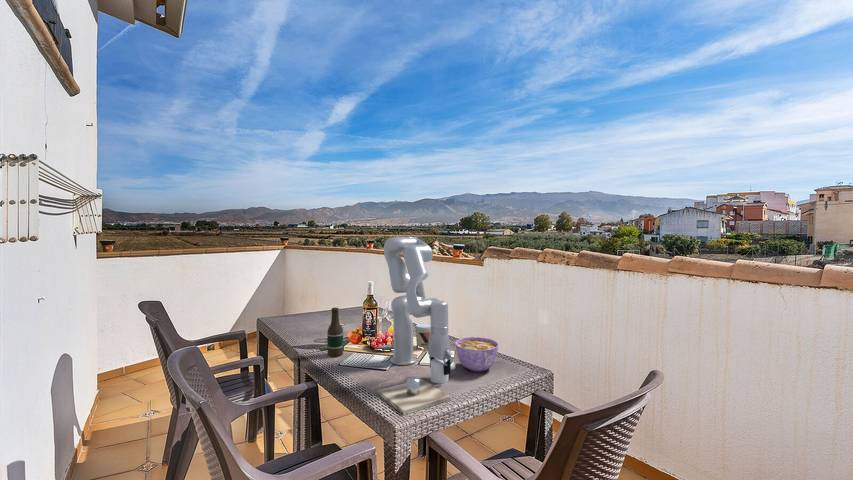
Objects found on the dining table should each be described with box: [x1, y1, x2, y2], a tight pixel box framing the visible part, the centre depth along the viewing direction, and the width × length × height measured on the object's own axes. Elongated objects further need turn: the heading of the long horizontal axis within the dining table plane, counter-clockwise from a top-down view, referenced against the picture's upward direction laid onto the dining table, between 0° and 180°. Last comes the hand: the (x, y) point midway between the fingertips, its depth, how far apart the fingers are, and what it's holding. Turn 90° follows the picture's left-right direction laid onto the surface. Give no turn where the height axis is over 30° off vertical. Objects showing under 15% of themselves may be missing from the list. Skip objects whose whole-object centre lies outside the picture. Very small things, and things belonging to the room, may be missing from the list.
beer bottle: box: [326, 307, 344, 358], centre depth 193 cm, size 8×8×24 cm
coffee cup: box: [415, 323, 431, 351], centre depth 205 cm, size 9×9×12 cm
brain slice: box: [367, 341, 394, 350], centre depth 205 cm, size 20×17×3 cm
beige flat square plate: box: [377, 375, 451, 413], centre depth 145 cm, size 20×20×7 cm
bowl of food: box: [455, 336, 500, 373], centre depth 175 cm, size 20×20×12 cm
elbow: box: [430, 358, 456, 384], centre depth 163 cm, size 7×11×8 cm
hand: (440, 370), depth 161 cm, fingers open, 9 cm apart
